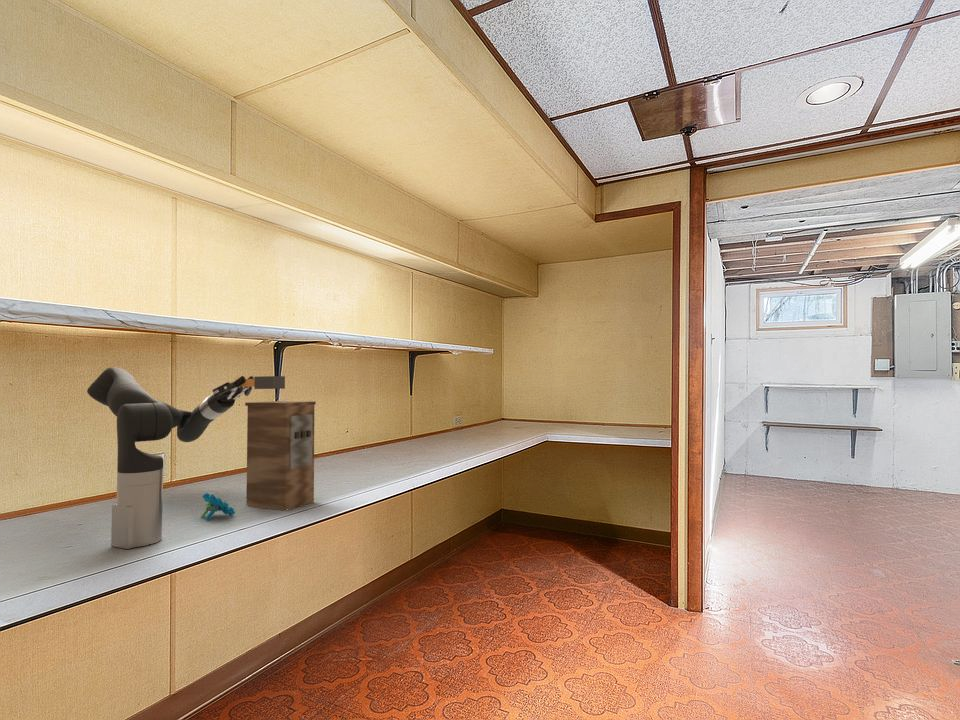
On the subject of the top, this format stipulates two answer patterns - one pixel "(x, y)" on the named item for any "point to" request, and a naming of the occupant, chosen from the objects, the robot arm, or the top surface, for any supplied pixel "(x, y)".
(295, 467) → the stand
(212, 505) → the teal plastic lumpy figure
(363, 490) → the top surface
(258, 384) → the block
